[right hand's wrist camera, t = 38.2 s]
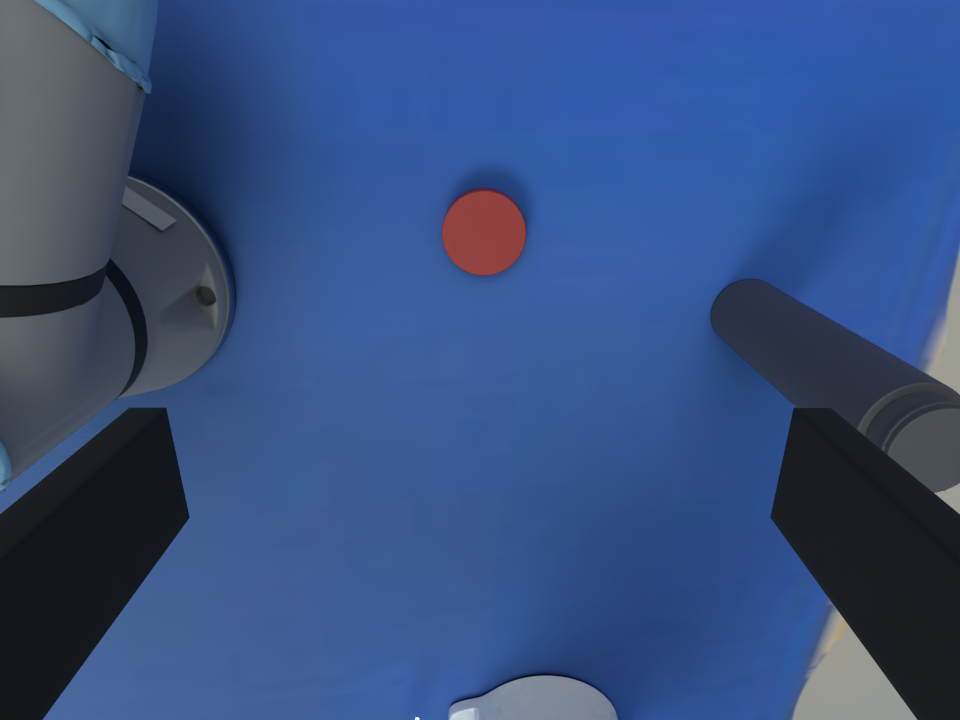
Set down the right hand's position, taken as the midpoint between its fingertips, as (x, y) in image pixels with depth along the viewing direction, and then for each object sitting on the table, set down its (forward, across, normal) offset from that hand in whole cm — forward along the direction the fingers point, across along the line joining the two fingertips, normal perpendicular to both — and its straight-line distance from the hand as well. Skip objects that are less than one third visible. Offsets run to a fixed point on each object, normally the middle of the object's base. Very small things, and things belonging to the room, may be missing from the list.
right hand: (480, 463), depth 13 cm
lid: (+29, 0, 0) cm, 29 cm away
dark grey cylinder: (+30, +19, -6) cm, 36 cm away
